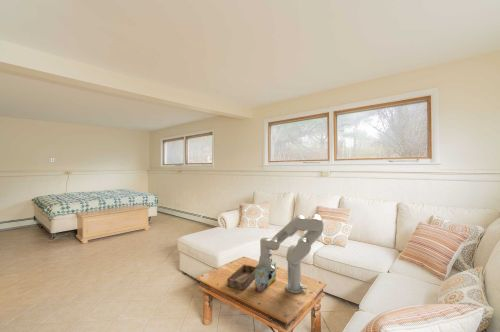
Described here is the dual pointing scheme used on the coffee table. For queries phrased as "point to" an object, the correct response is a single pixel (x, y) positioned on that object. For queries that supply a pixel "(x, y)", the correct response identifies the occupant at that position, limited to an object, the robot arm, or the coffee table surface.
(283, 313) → the coffee table surface
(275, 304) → the coffee table surface
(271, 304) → the coffee table surface
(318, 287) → the coffee table surface
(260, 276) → the snack box
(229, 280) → the walnut crate
